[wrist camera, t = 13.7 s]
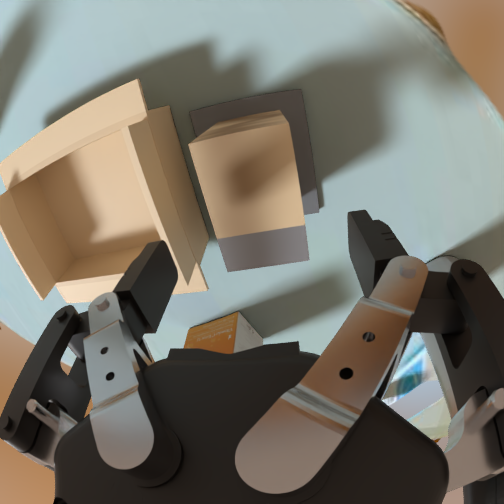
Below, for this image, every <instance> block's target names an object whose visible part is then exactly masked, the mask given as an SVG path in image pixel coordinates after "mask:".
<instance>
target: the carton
mask: <svg viewBox="0 0 504 504" xmlns="http://www.w3.org/2000/svg"><path fill="white" fill-rule="evenodd" d="M0 174H1V177H2V179H3V182H4V185H5V187H6V190H7V191H6V192H5V193H3V194H2V195H1V196H0V231H1V233H2V235H3V237H4V239H5V241H6V243H7V245H8V247H9V248H10V250H11V252H12V254H13V256H14V258H15V259H16V261H17V263H18V265H19V266H20V268H21V270H22V271H23V273H24V275H25V276H26V278H27V280H28V281H29V283H30V284H31V286H32V287H33V289H34V290H35V292H36V293H37V295H38V296H39V298H40V299H41V300H44V299H45V297H46V296H47V295H48V293H49V292H50V291H51V289H52V288H53V287H54V285H55V286H56V287H57V289H58V291H59V292H60V294H61V295H62V297H63V298H64V300H65V301H66V302H67V303H78V302H92V301H93V300H94V299H95V298H97V297H98V296H100V295H101V294H104V293H107V292H112V291H113V290H114V288H115V287H116V285H117V283H118V282H119V280H120V279H121V277H122V276H124V273H125V271H126V270H128V269H127V268H128V267H129V265H130V264H131V263H132V261H133V260H134V259H136V258H137V257H138V256H139V255H140V253H141V252H142V250H143V249H144V247H145V246H146V245H147V243H149V242H155V241H160V240H164V241H165V242H166V243H167V245H168V248H169V250H170V253H171V255H172V258H173V260H174V262H175V265H176V267H177V270H178V281H177V283H176V286H175V288H174V290H173V293H172V294H182V293H191V292H200V291H208V288H209V287H208V285H207V282H206V280H205V277H204V275H203V272H202V270H201V267H200V264H201V261H202V258H203V255H204V252H205V249H206V246H207V243H208V240H209V235H208V232H207V229H206V226H205V223H204V220H203V217H202V213H201V210H200V207H199V204H198V201H197V198H196V194H195V191H194V188H193V185H192V182H191V178H190V175H189V172H188V168H187V165H186V162H185V158H184V155H183V152H182V148H181V145H180V141H179V138H178V134H177V131H176V127H175V124H174V120H173V117H172V113H171V109H170V106H169V105H168V106H164V107H159V108H155V109H151V110H148V108H147V105H146V101H145V97H144V94H143V90H142V86H141V82H140V79H135V80H133V81H131V82H129V83H126V84H124V85H122V86H120V87H118V88H115V89H113V90H111V91H109V92H107V93H105V94H103V95H101V96H99V97H97V98H95V99H93V100H92V101H90V102H88V103H86V104H84V105H83V106H81V107H79V108H77V109H76V110H74V111H72V112H70V113H69V114H67V115H65V116H64V117H62V118H61V119H59V120H57V121H56V122H54V123H53V124H51V125H50V126H48V127H47V128H45V129H44V130H42V131H41V132H39V133H38V134H37V135H35V136H34V137H32V138H31V139H30V140H28V141H27V142H26V143H24V144H23V145H22V146H20V147H19V148H18V149H17V150H15V151H14V152H13V153H12V154H10V155H9V156H8V157H7V158H6V159H4V160H3V161H2V162H1V163H0Z"/></svg>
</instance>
